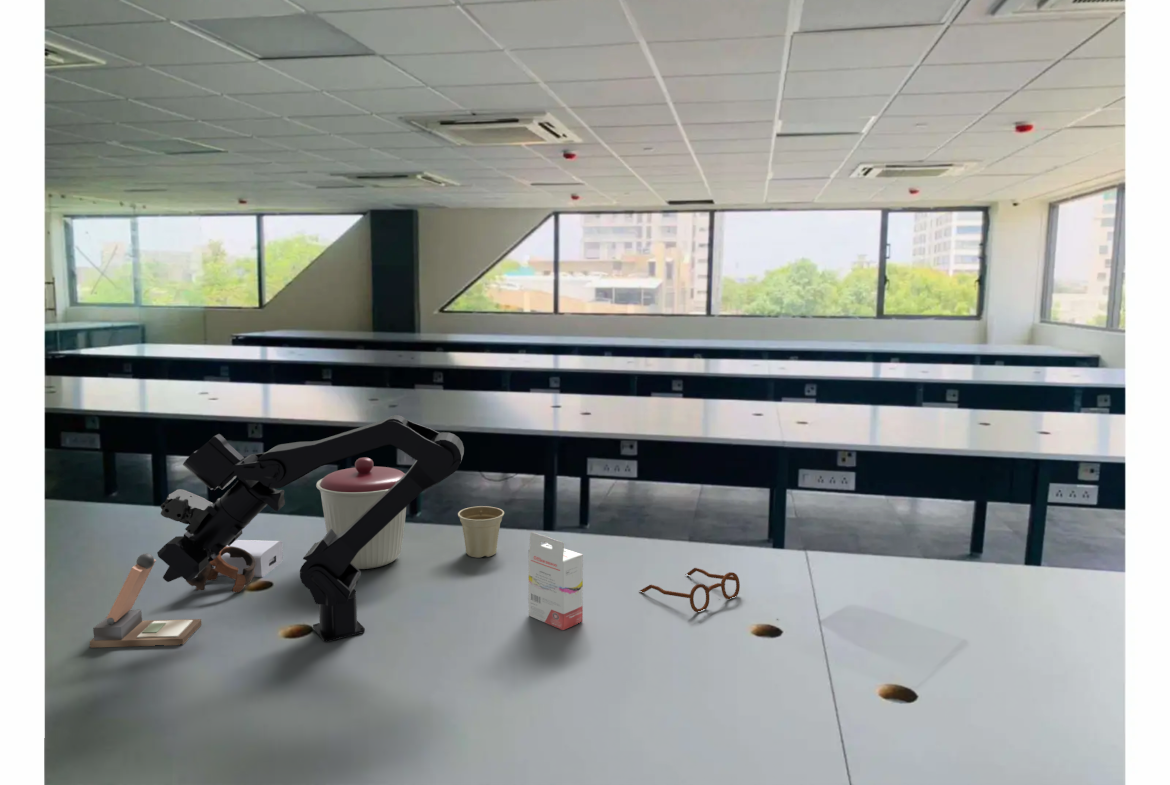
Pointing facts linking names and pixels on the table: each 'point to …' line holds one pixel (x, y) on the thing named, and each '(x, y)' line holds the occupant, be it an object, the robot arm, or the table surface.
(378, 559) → the canister
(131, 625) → the switch unit
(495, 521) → the flower pot
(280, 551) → the charger
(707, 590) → the glasses
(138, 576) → the toggle lever
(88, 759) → the table surface
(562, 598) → the ink cartridge box
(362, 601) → the table surface
